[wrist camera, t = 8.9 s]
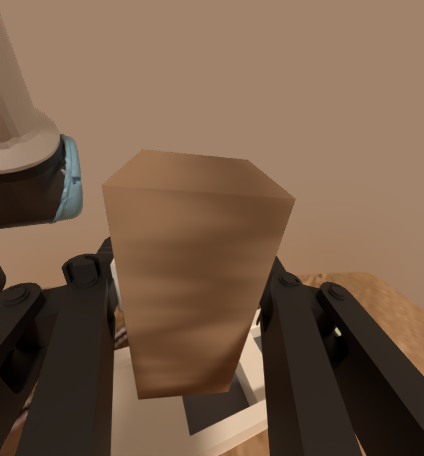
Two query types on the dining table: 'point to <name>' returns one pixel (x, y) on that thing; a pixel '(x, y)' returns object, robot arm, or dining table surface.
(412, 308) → the dining table surface
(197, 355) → the walnut block
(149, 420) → the tray
